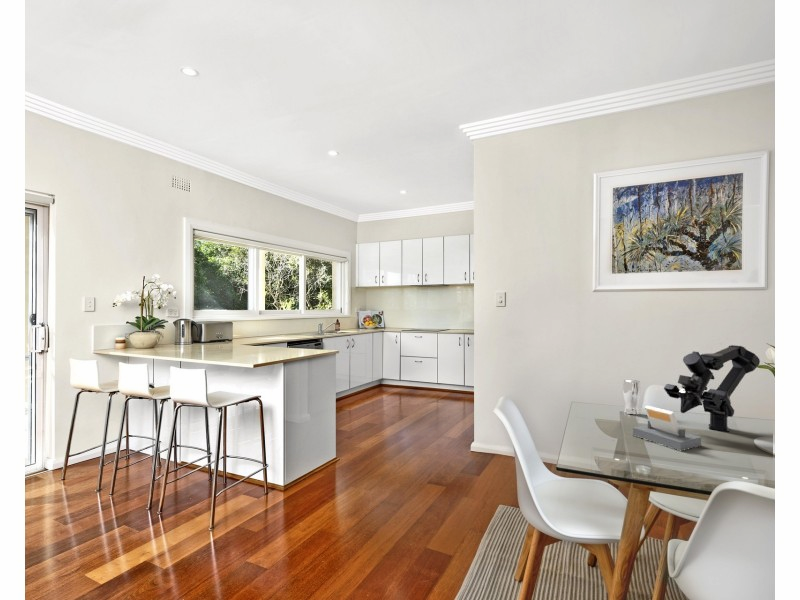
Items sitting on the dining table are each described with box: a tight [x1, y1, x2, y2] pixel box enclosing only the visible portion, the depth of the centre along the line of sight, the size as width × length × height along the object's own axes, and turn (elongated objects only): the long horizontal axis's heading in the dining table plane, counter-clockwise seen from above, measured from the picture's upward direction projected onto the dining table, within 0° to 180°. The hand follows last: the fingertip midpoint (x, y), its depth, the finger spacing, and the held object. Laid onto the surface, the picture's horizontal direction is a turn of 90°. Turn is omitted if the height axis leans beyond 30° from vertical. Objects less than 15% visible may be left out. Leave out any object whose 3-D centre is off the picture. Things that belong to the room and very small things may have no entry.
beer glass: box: [622, 379, 641, 414], centre depth 197 cm, size 7×7×15 cm
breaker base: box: [632, 420, 702, 451], centre depth 161 cm, size 12×18×6 cm, turn 26°
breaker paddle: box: [644, 405, 680, 435], centre depth 160 cm, size 2×10×9 cm, turn 25°
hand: (681, 412), depth 165 cm, fingers closed
